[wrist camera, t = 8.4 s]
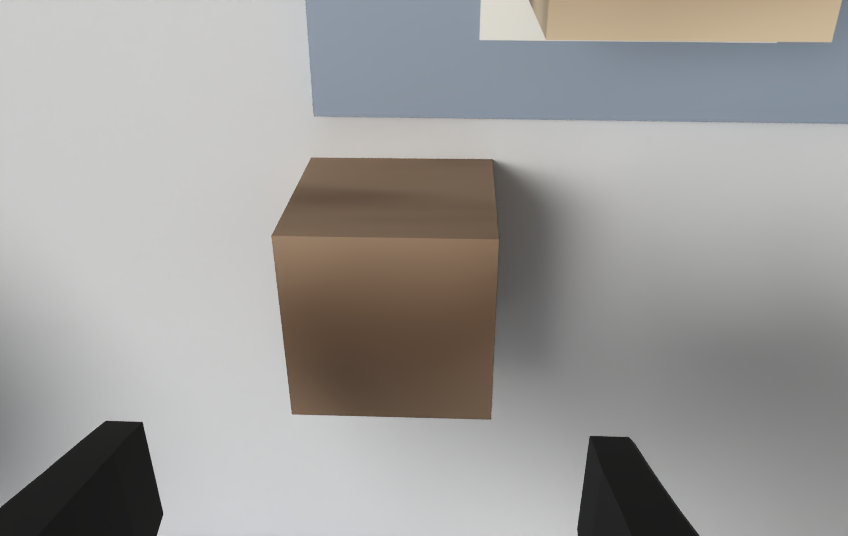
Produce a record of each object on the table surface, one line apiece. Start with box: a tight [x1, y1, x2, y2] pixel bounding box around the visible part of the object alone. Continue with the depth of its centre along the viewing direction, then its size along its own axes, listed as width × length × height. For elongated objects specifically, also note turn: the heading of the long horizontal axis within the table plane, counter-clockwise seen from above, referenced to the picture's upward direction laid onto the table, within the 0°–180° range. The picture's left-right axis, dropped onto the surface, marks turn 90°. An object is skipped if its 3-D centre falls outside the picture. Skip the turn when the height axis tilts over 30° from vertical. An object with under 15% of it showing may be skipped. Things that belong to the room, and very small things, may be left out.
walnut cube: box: [272, 158, 499, 419], centre depth 18 cm, size 4×4×4 cm
